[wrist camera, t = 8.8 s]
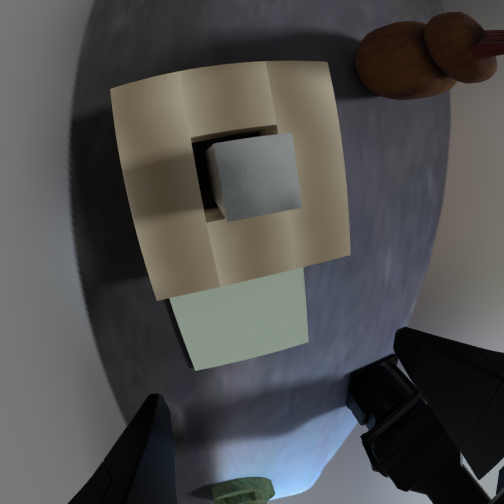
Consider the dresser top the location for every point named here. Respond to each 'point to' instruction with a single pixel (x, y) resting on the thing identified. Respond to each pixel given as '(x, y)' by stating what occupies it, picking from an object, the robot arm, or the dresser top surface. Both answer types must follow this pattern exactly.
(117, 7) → the dresser top surface
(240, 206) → the pin
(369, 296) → the dresser top surface
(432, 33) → the wooden figurine
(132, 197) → the hole block
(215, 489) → the decorative artifact
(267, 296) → the mat
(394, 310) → the dresser top surface
